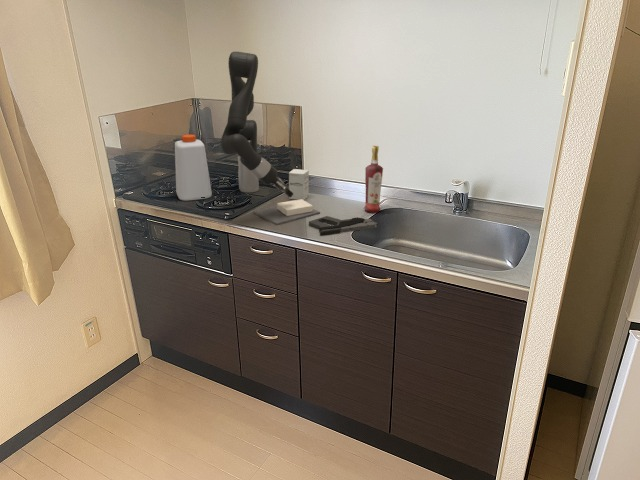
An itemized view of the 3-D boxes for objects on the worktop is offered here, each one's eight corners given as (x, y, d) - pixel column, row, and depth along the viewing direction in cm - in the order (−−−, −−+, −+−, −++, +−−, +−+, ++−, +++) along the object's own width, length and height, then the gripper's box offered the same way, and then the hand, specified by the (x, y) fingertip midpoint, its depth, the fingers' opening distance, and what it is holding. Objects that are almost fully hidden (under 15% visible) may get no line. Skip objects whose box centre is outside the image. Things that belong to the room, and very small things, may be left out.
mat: (253, 213, 214) (252, 211, 214) (294, 202, 227) (294, 201, 226) (277, 225, 201) (277, 223, 201) (320, 213, 214) (320, 211, 214)
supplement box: (288, 199, 232) (288, 172, 227) (294, 194, 238) (293, 168, 233) (303, 200, 230) (303, 173, 225) (309, 196, 236) (309, 169, 231)
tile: (276, 203, 215) (301, 199, 220) (277, 209, 216) (302, 205, 221) (286, 210, 207) (312, 205, 212) (287, 216, 208) (312, 212, 213)
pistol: (305, 218, 203) (318, 231, 190) (363, 211, 211) (379, 223, 198) (305, 223, 204) (318, 237, 191) (363, 216, 212) (379, 228, 199)
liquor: (368, 214, 213) (371, 149, 202) (360, 209, 220) (363, 145, 209) (383, 212, 216) (387, 147, 205) (375, 207, 222) (379, 144, 211)
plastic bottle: (213, 198, 231) (208, 137, 220) (179, 202, 226) (173, 140, 215) (207, 189, 244) (202, 131, 233) (175, 192, 239) (169, 133, 228)
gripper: (276, 166, 196) (304, 192, 206) (262, 159, 206) (290, 184, 217) (263, 181, 196) (292, 206, 206) (251, 173, 206) (279, 197, 216)
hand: (291, 195), depth 211 cm, fingers closed
